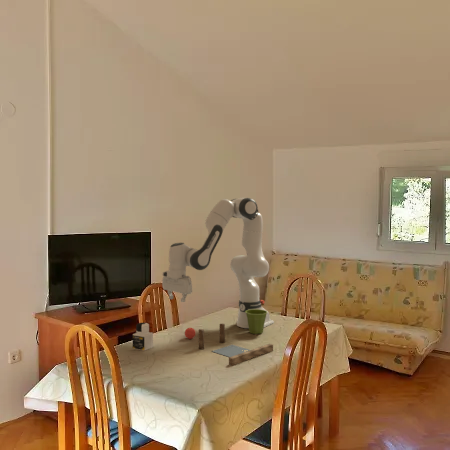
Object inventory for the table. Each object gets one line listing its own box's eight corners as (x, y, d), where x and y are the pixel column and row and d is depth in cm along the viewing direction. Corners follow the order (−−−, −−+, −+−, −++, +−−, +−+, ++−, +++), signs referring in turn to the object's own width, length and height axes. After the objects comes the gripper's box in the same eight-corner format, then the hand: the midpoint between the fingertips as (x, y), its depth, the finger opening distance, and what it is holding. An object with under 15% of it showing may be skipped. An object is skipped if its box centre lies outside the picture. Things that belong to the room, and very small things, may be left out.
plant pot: (268, 335, 262) (268, 314, 261) (245, 335, 262) (245, 314, 261) (266, 329, 274) (266, 309, 273) (245, 329, 274) (245, 309, 273)
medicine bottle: (132, 348, 241) (131, 324, 240) (141, 344, 247) (141, 320, 246) (144, 351, 237) (144, 326, 236) (153, 346, 244) (153, 322, 243)
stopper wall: (269, 349, 238) (269, 343, 238) (273, 350, 237) (273, 344, 237) (228, 364, 218) (228, 357, 218) (232, 365, 217) (232, 358, 217)
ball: (190, 336, 261) (190, 325, 261) (197, 338, 257) (197, 327, 257) (182, 338, 257) (182, 327, 257) (189, 340, 253) (189, 329, 253)
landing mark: (232, 345, 246) (232, 344, 246) (253, 351, 236) (253, 350, 236) (211, 351, 236) (211, 351, 236) (233, 358, 226) (233, 358, 226)
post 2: (222, 340, 253) (222, 323, 252) (225, 342, 251) (225, 324, 250) (218, 342, 251) (218, 324, 250) (222, 343, 249) (222, 325, 249)
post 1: (201, 347, 243) (201, 328, 242) (205, 348, 241) (205, 329, 240) (197, 348, 241) (197, 330, 240) (201, 349, 239) (201, 331, 238)
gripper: (195, 275, 256) (195, 302, 257) (169, 271, 270) (169, 296, 271) (185, 277, 252) (185, 304, 252) (160, 272, 266) (160, 298, 267)
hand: (177, 300), depth 262 cm, fingers open, 8 cm apart
